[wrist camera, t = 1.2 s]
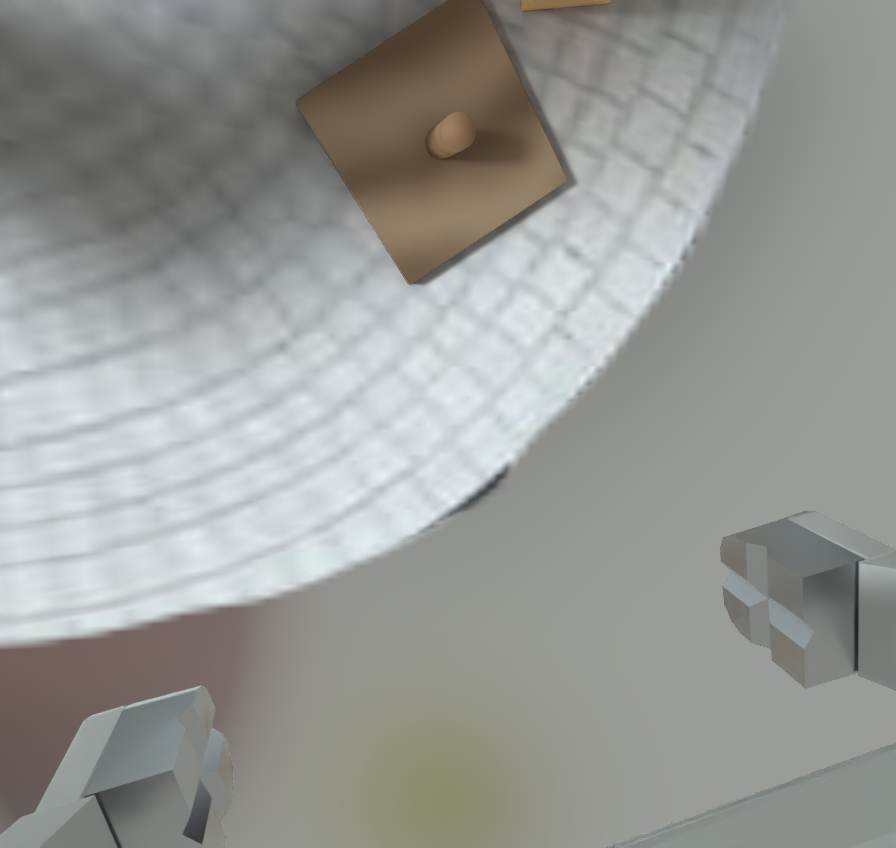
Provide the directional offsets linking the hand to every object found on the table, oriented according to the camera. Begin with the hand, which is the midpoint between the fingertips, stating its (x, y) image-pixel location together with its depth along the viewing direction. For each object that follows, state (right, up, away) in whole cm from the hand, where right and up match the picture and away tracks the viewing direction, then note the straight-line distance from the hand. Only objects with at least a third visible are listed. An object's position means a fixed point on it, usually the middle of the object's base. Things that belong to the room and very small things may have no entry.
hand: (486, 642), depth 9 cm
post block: (-1, +20, +28) cm, 35 cm away
